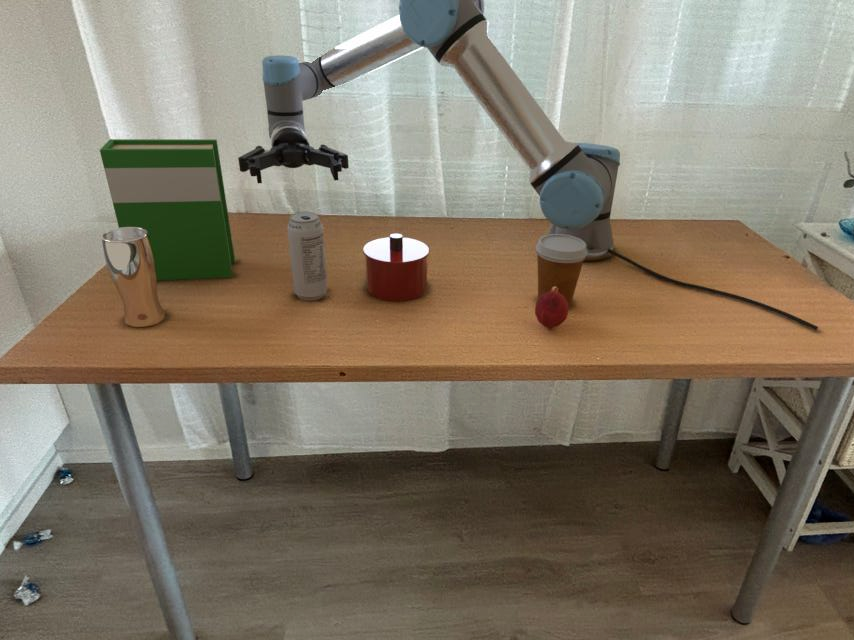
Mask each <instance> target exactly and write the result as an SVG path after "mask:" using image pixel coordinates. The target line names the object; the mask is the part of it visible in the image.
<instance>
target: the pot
mask: <svg viewBox="0 0 854 640" xmlns="http://www.w3.org/2000/svg"><path fill="white" fill-rule="evenodd" d="M364 260H365V283H366V284H365V285H366V291H367V292H368V293H369V294H370V296H373V297H374V298H377V299H379V300H383V301H391V302H405V301H411V300H414V299H417V298H420V297H422V296H423V295H424V294H425V293H426V292H427V287H428V256H427V257H426V258H425V259H423V260H421V261H419V262H415V263H411V264H403V265H392V264H383V263H379V262H375V261H373V260H370V259H368V258H367V257H366V256H365V255H364Z"/></svg>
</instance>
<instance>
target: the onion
mask: <svg viewBox="0 0 854 640" xmlns="http://www.w3.org/2000/svg"><path fill="white" fill-rule="evenodd" d="M558 289H559V288H557V287H556V286H554V287H552V289H551V290H550V291H549V292H547V293H545V294H543V295H542V296H541V297H540V298H539V299H538V298H537V301H536V304H535V307H534V315H535V317H536V319H537V321H538V323H540V324H541V326H543V327H544V328H546V329H548V330H551V329H554V328H556V327H559V326H560V325H562V324H563V323H564V322H565V321H566V320H567V318H568V316H569V308H570V306H569V307H568V303H567V301H566V299H565V297H564V296H563V295H562V294H561V293H559V292H558Z"/></svg>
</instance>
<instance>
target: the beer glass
mask: <svg viewBox="0 0 854 640" xmlns="http://www.w3.org/2000/svg"><path fill="white" fill-rule="evenodd" d="M100 239H101V244H102V250H103V255H104V258H105V259H104V260H105V263H106V267H107V270H108V272H109V275H110V277H111V279H112V281H113V283H114V286H115V288H116V289H117V292H118V294H119V296H120V298H121V300H122V305H123V311H124V322H125V324H126V325H127V326H129V327H133V328H147V327H151V326H155V325H158V324H159V323H161V322H162V321H164V319H165V317H166V315H165V312H164V309H163V306H162V305H161V303H160V300H159V296H158V280H157V270H156V261H155V256H154V252H153V248H152V245H151V242H150V239H149V236H148V232H147V230H145V229H143V228H140V227H121V228H119V227H115V228H112V229H109V230H106V231H104V232H103V233H102V234H101V235H100Z"/></svg>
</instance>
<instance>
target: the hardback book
mask: <svg viewBox="0 0 854 640" xmlns="http://www.w3.org/2000/svg"><path fill="white" fill-rule="evenodd" d="M99 153H100V157H101V160H102V161H101V162H102V165H103V170H104V173H105V177H106V181H107V185H108V186H107V187H108V189H109V193H110V198H111V202H112V205H113V210H114V215H115V218H116V222H117V226H118V228H121V227H140V228H143V229H145V230H147V232H148V236H149V239H150V242H151V245H152V248H153V252H154V256H155V261H156V270H157V281H175V280H178V281H179V280H198V279H200V280H201V279H219V278H233V277H234V272H233V266H232V264H235V265H236V257H235V251H234V244H233V243H234V242H233V238H232V232H231V231H232V230H231V224H230V217H229V212H228V204H227V197H226V191H225V184H224V178H223V172H222V166H221V159H220V158H221V157H220V151H219V145H218V139H216V138H215V139H213V138H212V139H211V138H210V139H209V138H206V139H205V138H204V139H199V138H198V139H197V138H196V139H195V138H194V139H192V138H191V139H189V138H188V139H184V138H183V139H182V138H181V139H180V138H179V139H178V138H177V139H176V138H175V139H174V138H173V139H172V138H171V139H169V138H168V139H166V138H164V139H162V138H161V139H159V138H158V139H157V138H156V139H153V138H151V139H148V138H147V139H146V138H142V139H141V138H140V139H139V138H137V139H136V138H135V139H134V138H132V139H131V138H130V139H128V138H127V139H125V138H124V139H123V138H122V139H120V138H110V139H109V140H107V141H106V143H105V144H104V145H103V146H102V147H101V148H100V149H99Z"/></svg>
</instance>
